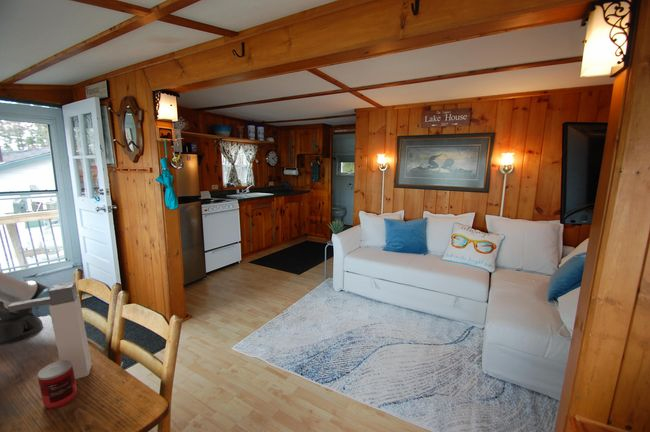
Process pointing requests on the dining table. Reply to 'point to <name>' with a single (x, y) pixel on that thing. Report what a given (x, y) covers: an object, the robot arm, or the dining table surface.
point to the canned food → (57, 384)
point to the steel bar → (57, 296)
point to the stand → (71, 336)
